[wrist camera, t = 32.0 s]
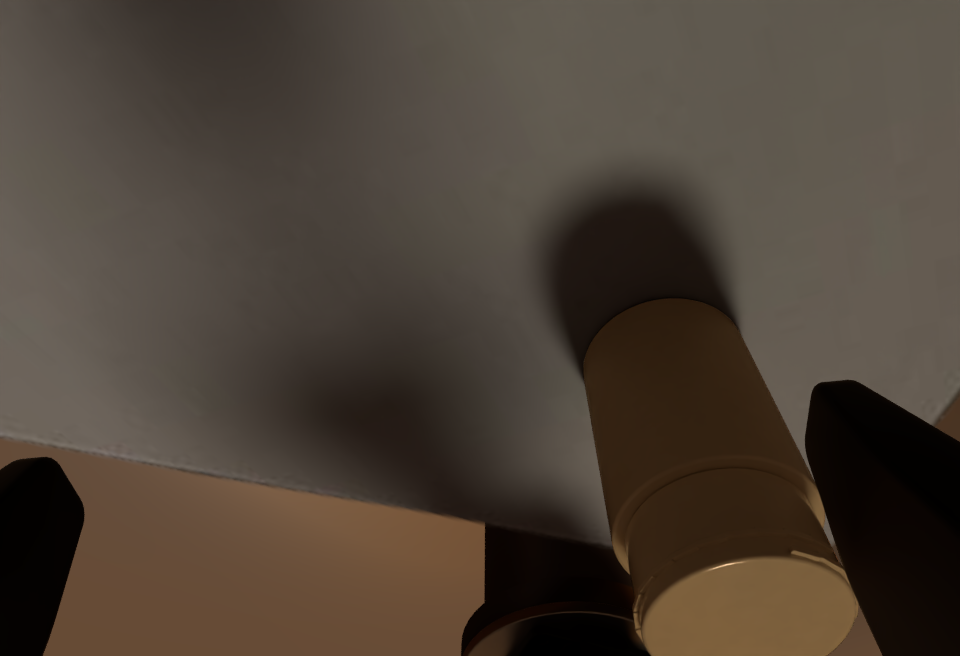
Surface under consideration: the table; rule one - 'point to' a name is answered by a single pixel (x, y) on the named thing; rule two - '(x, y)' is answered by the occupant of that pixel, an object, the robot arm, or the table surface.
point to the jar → (709, 492)
